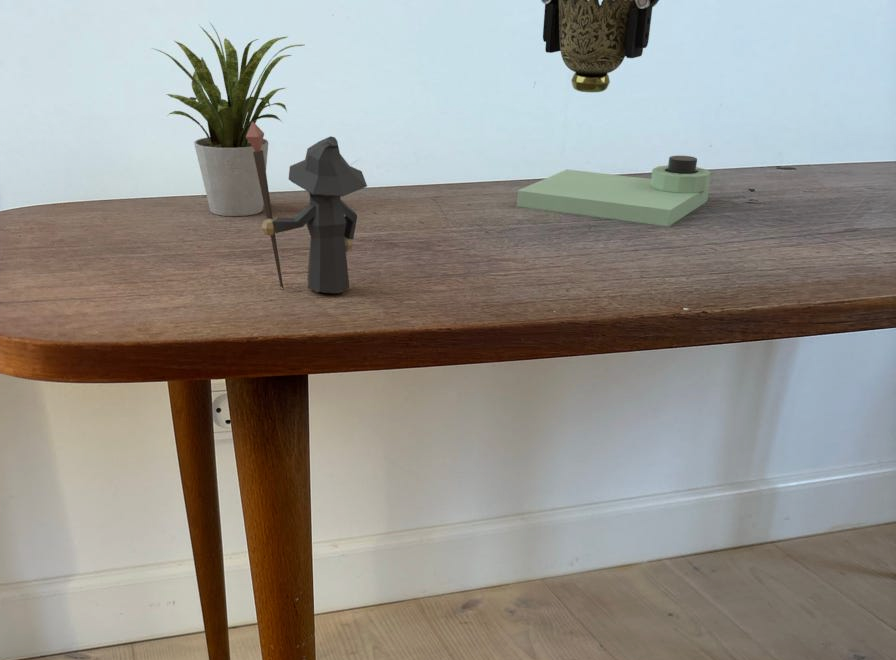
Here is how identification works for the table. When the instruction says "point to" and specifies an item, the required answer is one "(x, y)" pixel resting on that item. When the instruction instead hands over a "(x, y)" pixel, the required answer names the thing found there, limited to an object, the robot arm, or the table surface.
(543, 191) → the scale
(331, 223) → the wizard figurine
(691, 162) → the button
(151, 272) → the table surface
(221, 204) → the house plant
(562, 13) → the cup
